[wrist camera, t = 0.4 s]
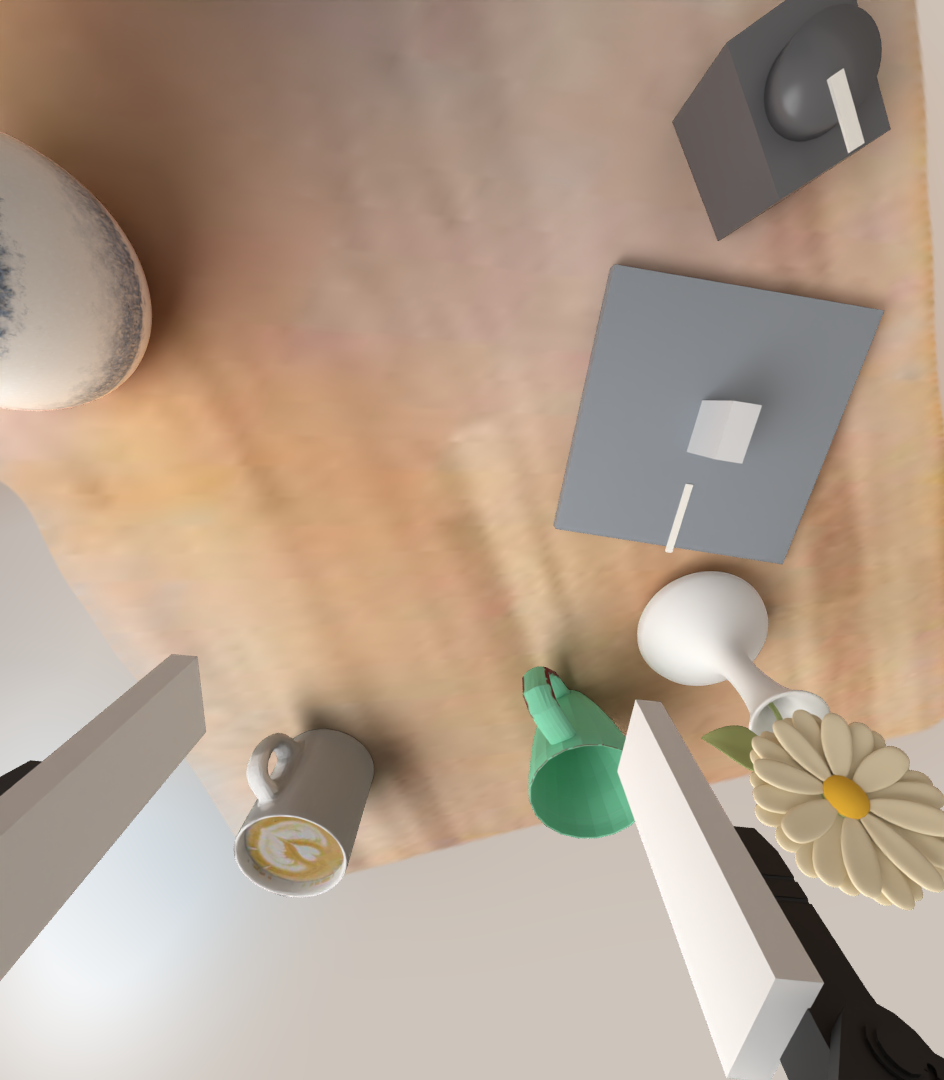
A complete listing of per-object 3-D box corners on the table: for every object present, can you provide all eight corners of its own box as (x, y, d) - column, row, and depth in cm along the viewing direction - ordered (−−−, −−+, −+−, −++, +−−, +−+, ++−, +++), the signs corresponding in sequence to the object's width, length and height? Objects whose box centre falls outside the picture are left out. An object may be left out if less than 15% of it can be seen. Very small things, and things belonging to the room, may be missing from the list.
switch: (609, 269, 33) (635, 243, 27) (870, 313, 33) (946, 296, 28) (552, 530, 39) (563, 551, 34) (771, 564, 39) (817, 591, 34)
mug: (631, 726, 45) (671, 813, 36) (545, 761, 47) (561, 854, 37) (570, 613, 41) (596, 677, 32) (478, 656, 43) (477, 729, 34)
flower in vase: (777, 581, 40) (1210, 852, 16) (723, 684, 43) (1014, 1032, 20) (641, 545, 39) (885, 773, 15) (597, 653, 43) (741, 974, 19)
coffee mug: (386, 792, 49) (362, 888, 39) (303, 808, 50) (260, 905, 40) (344, 693, 45) (307, 773, 35) (255, 713, 46) (195, 795, 36)
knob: (672, 121, 30) (744, 16, 22) (761, 59, 29) (873, -78, 20) (718, 241, 32) (800, 186, 24) (802, 187, 31) (919, 110, 23)
